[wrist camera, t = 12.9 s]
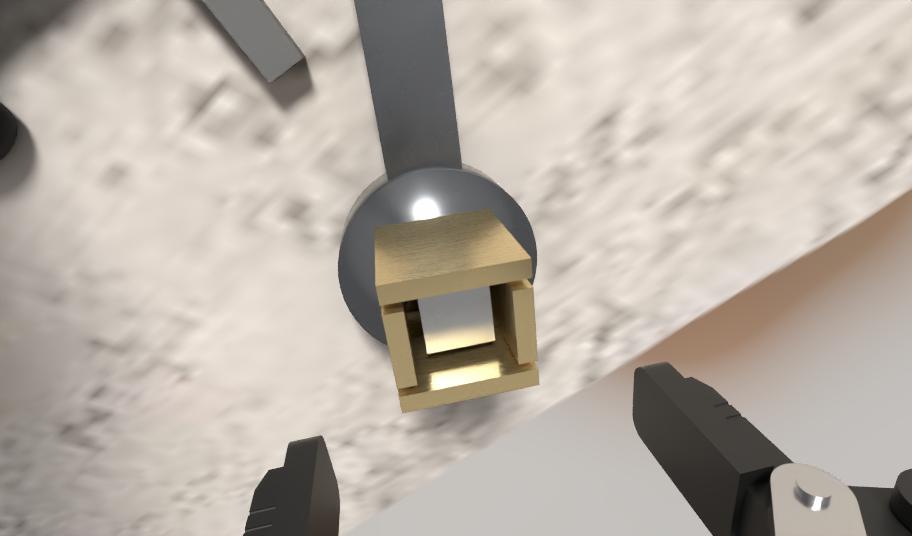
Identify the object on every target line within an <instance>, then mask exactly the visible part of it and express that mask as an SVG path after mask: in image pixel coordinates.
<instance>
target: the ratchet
mask: <svg viewBox="0 0 912 536" xmlns="http://www.w3.org/2000/svg"><path fill="white" fill-rule="evenodd" d="M354 1H355V6H356V12H357V17H358V23H359V28H360V33H361V39H362V44H363V49H364V55H365V60H366V66H367V71H368V76H369V82H370V87H371V92H372V98H373V103H374V109H375V114H376V119H377V125H378V130H379V136H380V141H381V146H382V152H383V157H384V162H385V168H386V173H385V174H383V175H382V176H380V177H379V178H378V179H376V180H375V181H374V182H372V183H371V184H370V185H369V186H368V187H367V188H366V189H365V190H364V191H363V193H362V194H361V195H360V196H359V197H358V199H357V200H356V202H355V203H354V205H353V207H352V208H351V210H350V212H349V215H348V217H347V220H346V222H345V226H344V230H343V234H342V240H341V245H340V251H339V260H338V277H339V283H340V288H341V291H342V294H343V297H344V300H345V302H346V304H347V306H348V308H349V310H350V312H351V313H352V315H353V316H354V318H355V319H356V321H357V322H358V323H359V324H360V325H361V326H362V327H363V328H364V329H365V330H366V331H367V332H368V333H369V334H371V335H372V336H373V337H374V338H376V339H378V340H379V341H381V342H382V343H384V344H386V345H388V343H387V338H386V333H385V329H384V324H383V319H382V310H381V306H380V305H379V300H378V296H377V291H376V286H375V237H374V228H375V227H381V226H387V225H393V224H399V223H405V222H411V221H417V220H423V219H429V218H435V217H441V216H447V215H453V214H459V213H465V212H471V211H477V210H482V209H488V208H489V209H490V210H491V211H492V213H493V214H494V215H495V216H496V217H497V218H498V220H499V221H500V222H501V223H502V224H503V225H504V227H505V228H506V229H507V230H508V231H509V232H510V234H511V235H512V236H513V237H514V238H515V240H516V241H517V242H518V243H519V244H520V245H521V247H522V248H523V249H524V250H525V251H526V252H527V254H528V255H529V256H530V257H531V260H532V276H533V278H529V279H527V280H528V281H529V282H530V284H531V285H533V282H534V278H535V273H536V266H537V249H536V242H535V238H534V234H533V230H532V228H531V225H530V223H529V221H528V219H527V217H526V215H525V214H524V212H523V210H522V209H521V207H520V206H519V205H518V204H517V203H516V201H515V200H514V199H513V198H512V197H511V196H510V195H509V194H508V193H507V192H505V191H504V190H503V189H502V188H501V187H500V186H499V185H498V184H497V183H495V182H494V181H493V180H492V179H491V178H490V177H488V176H487V175H485V174H484V173H482V172H481V171H479V170H477V169H475V168H473V167H471V166H468V165H465V164H462V162H461V154H460V146H459V138H458V129H457V121H456V113H455V105H454V96H453V88H452V80H451V71H450V63H449V55H448V47H447V38H446V30H445V22H444V14H443V5H442V0H354ZM405 304H406V311H407V313H409V312H414V311H419V314H420V319H421V324H422V329H423V334H424V339H425V345H426V350H427V354H430V353H435V352H440V351H445V350H450V349H455V348H460V347H465V346H470V345H475V344H480V343H485V342H490V341H495V334H494V325H493V316H492V306H491V297H490V288H489V286H485V287H480V288H474V289H469V290H463V291H458V292H453V293H447V294H442V295H436V296H431V297H425V298H420V299H415V300H409V301H405Z"/></svg>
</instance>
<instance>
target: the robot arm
mask: <svg viewBox="0 0 912 536" xmlns="http://www.w3.org/2000/svg"><path fill="white" fill-rule="evenodd" d="M633 421H634V425H635V428H636V430H637V433H638V435H639V436H640V438H641V439H642V441H643V442H644V444H645V445H646V446H647V448H648V449H649V450H650V452H651V453H652V454H653V456H654V457H655V458H656V460H657V461H658V462H659V464H660V465H661V466H662V468H663V469H664V471H665V472H666V473H667V475H668V476H669V477H670V478H671V480H672V481H673V483H674V484H675V485H676V487H677V488H678V489H679V491H680V492H681V493H682V494H683V496H684V497H685V499H686V500H687V501H688V503H689V504H690V506H691V507H692V508H693V510H694V511H695V512H696V514H697V515H698V516H699V518H700V519H701V520H702V522H703V523H704V524H705V526H706V527H707V528H708V530H709V531H710V532H711V534H712V535H713V536H912V469H909V470H906V471H904V472H902V473H900V475H899V476H898V478H897V481H896V484H895V486H894V488H876V487H857V486H856V487H855V486H847V485H845V484H844V483H843V482H842V481H841V480H839V479H838V478H836V477H835V476H833V475H832V474H830V473H828V472H826V471H824V470H822V469H819V468H816V467H813V466H810V465H805V464H797V463H793V462H792V461H791V460H790V459H789V458H788V457H787V456H786V455H784V453H783V452H781V451H780V450H779V449H778V448H777V447H776V446H775V445H774V444H773V443H772V442H771V441H769V440H768V439H767V438H766V437H765V436H764V435H763V434H762V433H761V432H760V431H759V430H758V429H757V428H755V427H754V426H753V425H752V424H751V423H750V422H749V421H748V420H747V419H746V418H744V417H742V416H741V414H740V413H739V412H738V411H737V410H736V409H735V408H734V407H733V406H732V405H729V404H728V402H727V401H726V400H725V399H724V398H723V397H722V396H721V395H720V394H719V393H717V391H715V390H714V389H713V388H712V387H710V386H708V385H706V384H704V383H702V382H700V381H698V380H697V379H694V378H693V377H689V378H684V377H683V376H682V375H681V374H680V373H679V372H678V371H677V370H676V369H675V368H674V367H673V366H672V365H670V364H669V363H667V362H661V363H656V364H652V365H647V366H643V367H639V368H637V369H636V370H635V373H634V392H633ZM249 512H250V515H249V516H248V519H247V523H246V526H245V534H243V536H338V533H339V514H340V498H339V489H338V484H337V480H336V476H335V473H334V470H333V467H332V463H331V460H330V457H329V454H328V450H327V447H326V444H325V441H324V438H323V437H322V436H316V437H311V438H307V439H302V440H298V441H293V442H290V443H289V445H288V448H287V453H286V458H285V463H284V467H280V468H276V469H271V470H268V472H267V473H266V475H265V476H264V478H263V479H262V481H261V482H260V483H259V485H258V486H257V488H256V489H255V492H254V495H253V499H252V503H251V507H250V511H249Z"/></svg>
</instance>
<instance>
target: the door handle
mask: <svg viewBox="0 0 912 536" xmlns="http://www.w3.org/2000/svg"><path fill="white" fill-rule="evenodd" d="M202 1H203V2H204V3H205V5H206V6H207V7H208V8H209V10H210V11H211V12H212V13H213V15H214V16H215V17H216V18H217V19H218V21H219V22H220V23H221V24H222V26H223V27H224V28H225V29H226V31H227V32H228V33H229V34H230V35H231V37H232V38H233V39H234V40H235V42H236V43H237V44H238V45H239V46H240V48H241V49H242V50H243V51H244V53H245V54H246V55H247V56H248V58H249V59H250V60H251V61H252V62H253V64H254V65H255V66H256V67H257V69H258V70H259V71H260V72H261V73H262V75H263V76H264V77H265V78H266V80H267V81H268V82H269V83H271V82H273V81H275V80H276V79H277V78H279V77H280V76H281V75H283V74H284V73H285V72H286V71H288V70H289V69H290V68H292V67H293V66H294V65H296V64H297V63H298V62H299V61H301V60H302V59H303V58H305V56H304V54H303V53H302V51H301V50H300V49H299V47H298V46H297V45H296V43H295V42H294V41H293V39H292V38H291V37H290V35H289V34H288V33H287V31H286V30H285V29H284V27H283V26H282V25H281V23H280V22H279V21H278V19H277V18H276V17H275V15H274V14H273V13H272V11H271V10H270V9H269V7H268V6H267V5H266V3H265V2H264V1H263V0H202ZM16 135H17V125H16V121H15V119H14V117H13V115H12V113H11V112H10V111H9V110H8V109H7V108H6V107H5V106H4V105H3V104H1V103H0V160H1V159H3V158H4V157H5V156H6V155H7V153H8V152H9V151H10V149H11V148H12V146H13V144H14V142H15V139H16Z"/></svg>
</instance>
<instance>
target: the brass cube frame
mask: <svg viewBox="0 0 912 536" xmlns="http://www.w3.org/2000/svg"><path fill="white" fill-rule="evenodd" d="M374 237H375V286H376V291H377V296H378V300H379V305H380V306H381V310H382V319H383V324H384V329H385V333H386V338H387V343H388V348H389V352H390V357H391V362H392V367H393V371H394V376H395V381H396V386H397V389H398V392H399V400H400V405H401V409H402V413H406V412H411V411H416V410H421V409H426V408H430V407H435V406H440V405H445V404H450V403H454V402H459V401H464V400H469V399H474V398H478V397H483V396H488V395H493V394H498V393H503V392H507V391H512V390H517V389H522V388H527V387H531V386H536V385H539V372H538V367H537V366H536V364H535V362H534V361H538V356H537V340H536V324H535V308H534V292H533V286H532V285H531V284H530V282H529V281H528V280H527V279H529V278H533V276H532V260H531V257H530V256H529V255H528V254H527V252H526V251H525V250H524V249H523V248H522V247H521V245H520V244H519V243H518V242H517V241H516V240H515V238H514V237H513V236H512V235H511V234H510V232H509V231H508V230H507V229H506V228H505V227H504V225H503V224H502V223H501V222H500V221H499V220H498V218H497V217H496V216H495V215H494V214H493V213H492V211H491V210H490V209H489V208H488V209H482V210H477V211H471V212H465V213H459V214H453V215H447V216H441V217H435V218H429V219H423V220H417V221H411V222H405V223H399V224H393V225H387V226H381V227H375V228H374ZM485 286H489V288H490V297H491V306H492V316H493V325H494V334H495V341H490V342H485V343H480V344H475V345H470V346H465V347H460V348H455V349H450V350H445V351H440V352H435V353H430V354H427V350H426V345H425V339H424V334H423V329H422V324H421V319H420V314H419V311H414V312H409V313H407V311H406V304H405V301H409V300H415V299H420V298H425V297H431V296H436V295H442V294H447V293H453V292H458V291H463V290H469V289H474V288H480V287H485Z"/></svg>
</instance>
